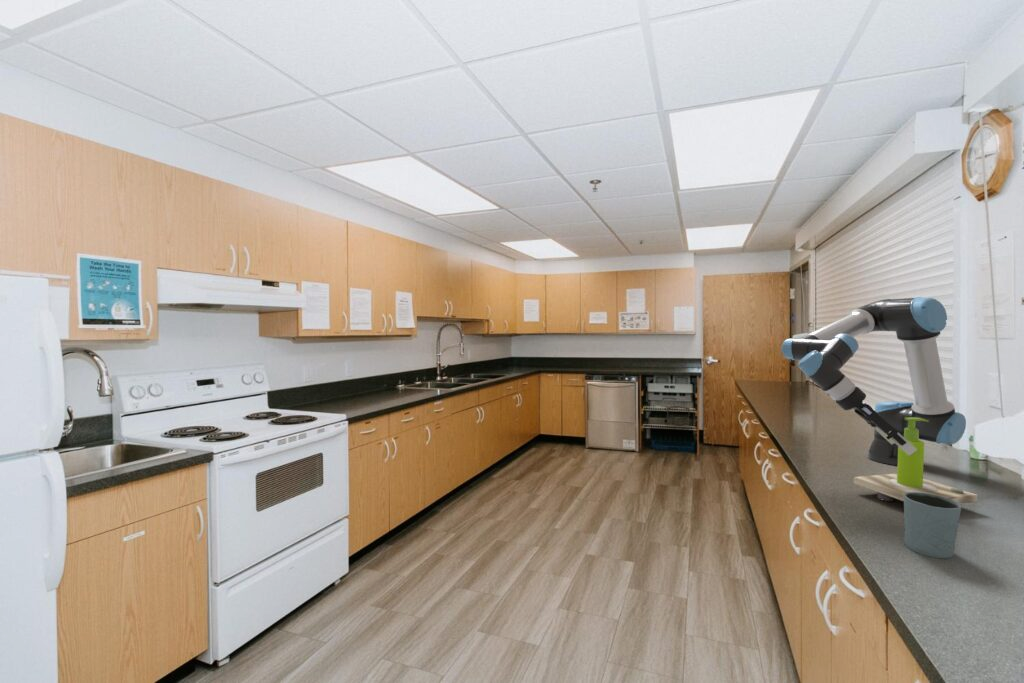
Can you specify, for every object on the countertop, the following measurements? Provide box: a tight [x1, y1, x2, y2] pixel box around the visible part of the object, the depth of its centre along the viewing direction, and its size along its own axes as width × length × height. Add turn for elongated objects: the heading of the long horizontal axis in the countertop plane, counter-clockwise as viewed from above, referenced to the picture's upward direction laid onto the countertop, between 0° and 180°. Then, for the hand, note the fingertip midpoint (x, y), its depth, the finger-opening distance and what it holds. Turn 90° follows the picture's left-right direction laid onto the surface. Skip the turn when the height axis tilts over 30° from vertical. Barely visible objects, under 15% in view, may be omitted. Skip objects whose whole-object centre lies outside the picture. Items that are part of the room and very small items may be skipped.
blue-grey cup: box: [903, 492, 962, 559], centre depth 111 cm, size 10×10×12 cm
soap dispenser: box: [896, 417, 929, 488], centre depth 141 cm, size 6×7×20 cm
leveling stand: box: [853, 473, 978, 505], centre depth 141 cm, size 20×20×6 cm
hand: (903, 446), depth 141 cm, fingers open, 13 cm apart
